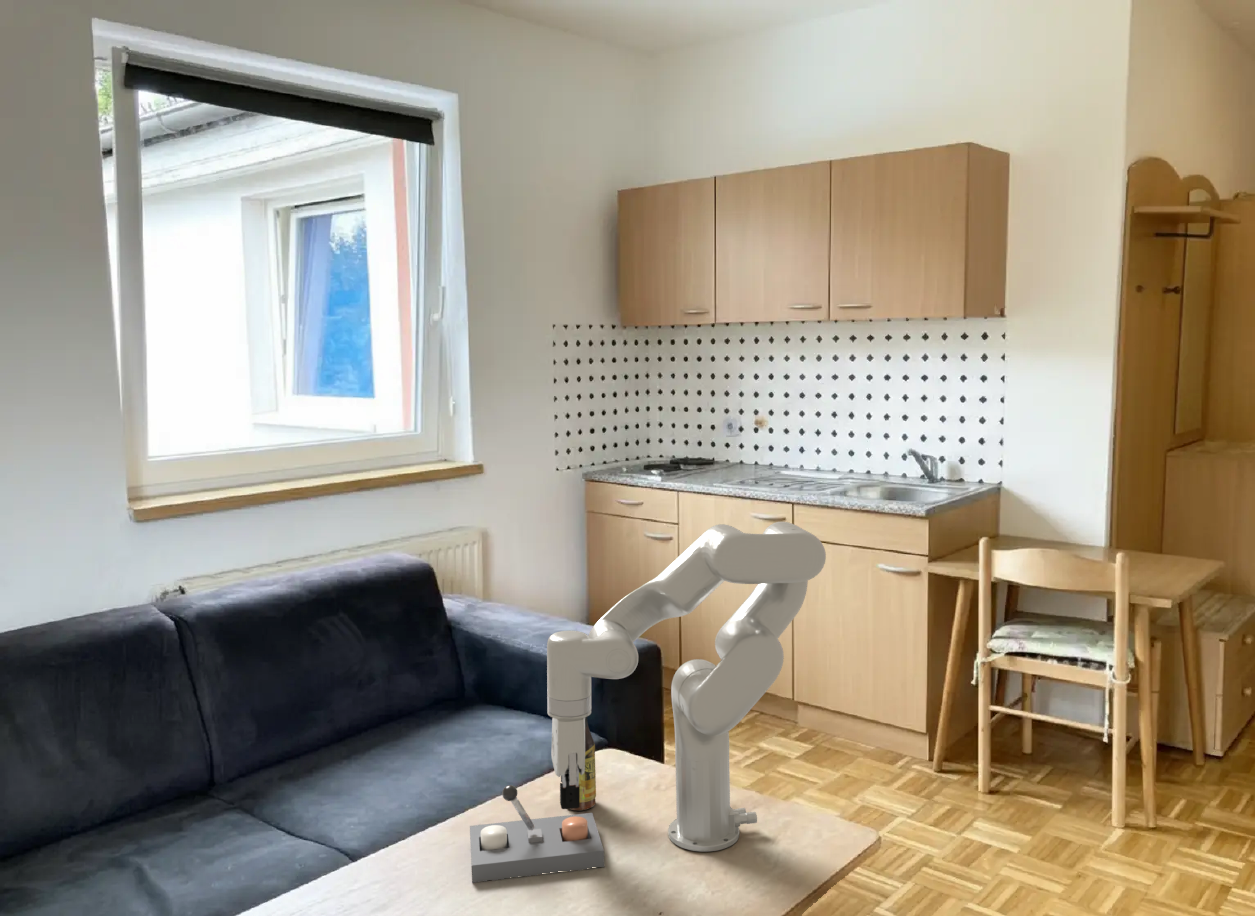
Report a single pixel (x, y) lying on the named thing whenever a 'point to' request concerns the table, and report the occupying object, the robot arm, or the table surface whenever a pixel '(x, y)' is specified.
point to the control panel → (535, 850)
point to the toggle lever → (517, 805)
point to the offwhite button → (493, 837)
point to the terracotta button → (574, 829)
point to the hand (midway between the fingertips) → (569, 806)
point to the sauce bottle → (588, 774)
